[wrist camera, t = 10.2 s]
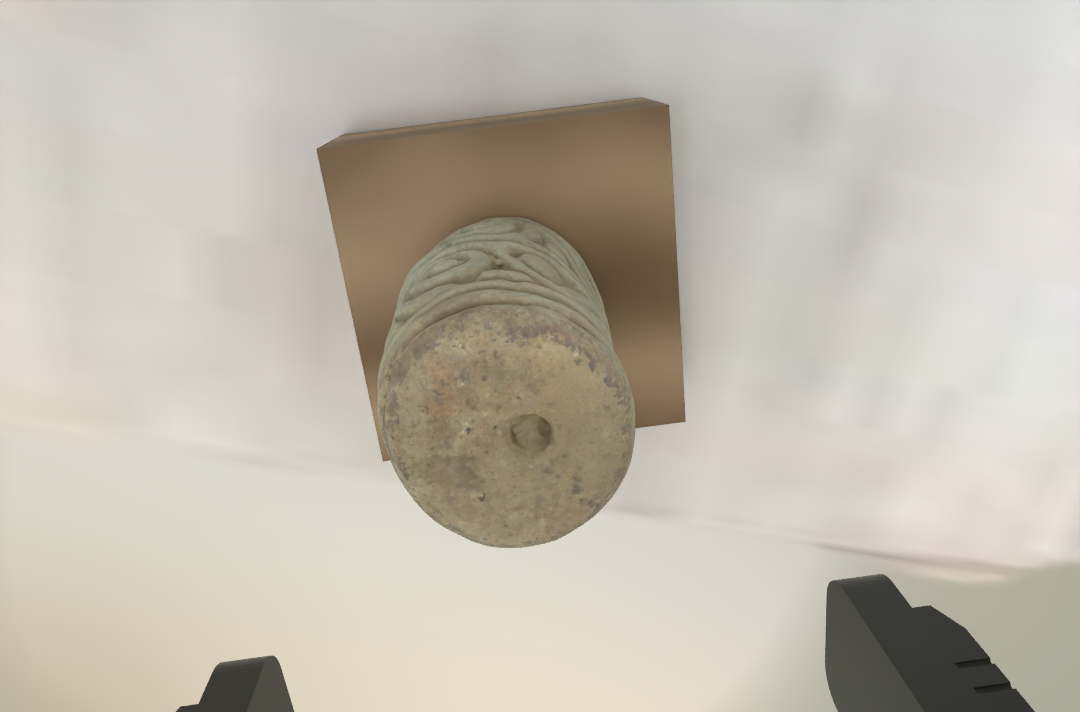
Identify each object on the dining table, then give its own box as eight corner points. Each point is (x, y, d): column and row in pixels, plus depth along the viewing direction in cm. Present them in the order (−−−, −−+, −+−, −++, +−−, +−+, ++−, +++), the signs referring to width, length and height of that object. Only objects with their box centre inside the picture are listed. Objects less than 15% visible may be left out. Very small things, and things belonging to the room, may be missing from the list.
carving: (510, 157, 27) (526, 231, 16) (635, 320, 29) (725, 484, 18) (370, 269, 28) (293, 412, 17) (502, 417, 30) (510, 629, 19)
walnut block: (342, 134, 31) (316, 149, 26) (642, 97, 31) (668, 105, 27) (396, 407, 35) (382, 461, 31) (659, 373, 36) (685, 421, 31)
